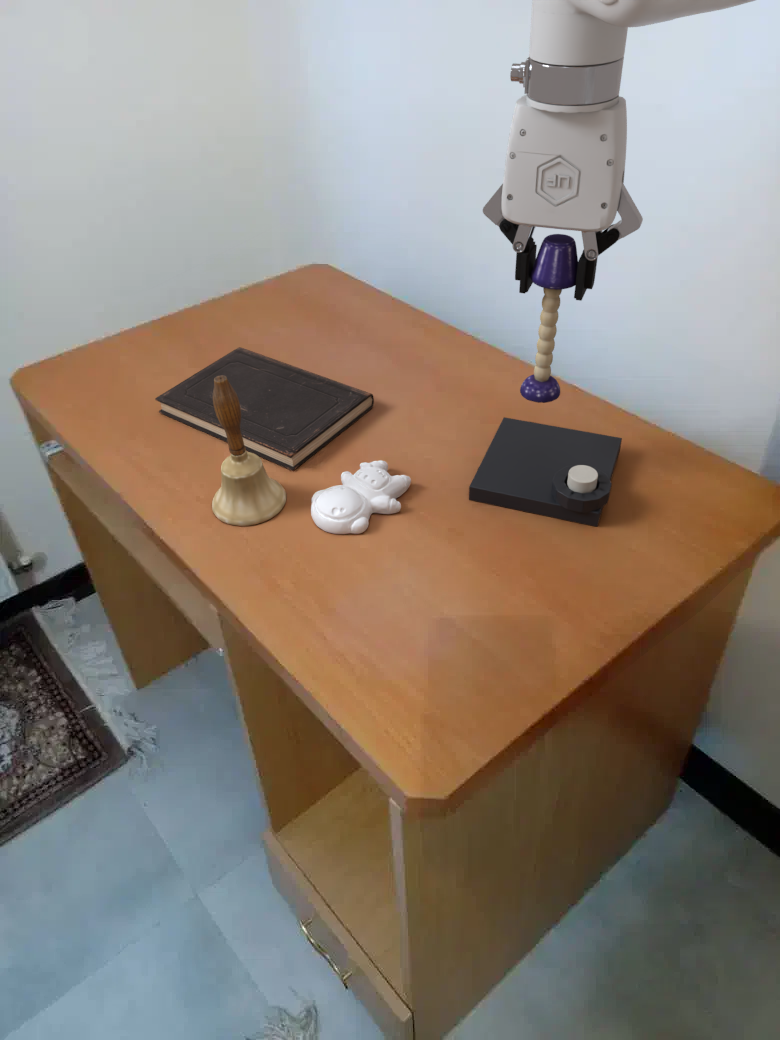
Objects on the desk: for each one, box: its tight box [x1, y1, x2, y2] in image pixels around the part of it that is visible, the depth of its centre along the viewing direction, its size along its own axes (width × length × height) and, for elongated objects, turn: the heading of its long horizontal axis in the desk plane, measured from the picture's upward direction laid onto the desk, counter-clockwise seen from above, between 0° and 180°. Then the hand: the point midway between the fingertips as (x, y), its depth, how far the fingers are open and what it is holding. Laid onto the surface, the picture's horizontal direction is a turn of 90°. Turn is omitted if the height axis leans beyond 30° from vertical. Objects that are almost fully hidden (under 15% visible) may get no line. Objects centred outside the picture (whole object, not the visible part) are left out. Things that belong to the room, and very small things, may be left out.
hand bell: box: [211, 375, 287, 527], centre depth 83 cm, size 8×8×16 cm
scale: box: [468, 416, 623, 528], centre depth 88 cm, size 14×14×4 cm
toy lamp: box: [519, 233, 579, 404], centre depth 79 cm, size 5×5×17 cm
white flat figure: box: [310, 459, 412, 535], centre depth 86 cm, size 9×12×3 cm
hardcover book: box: [155, 346, 375, 472], centre depth 101 cm, size 16×23×2 cm
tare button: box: [567, 465, 598, 493], centre depth 82 cm, size 3×3×2 cm
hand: (553, 289), depth 77 cm, fingers closed on toy lamp, 4 cm apart
